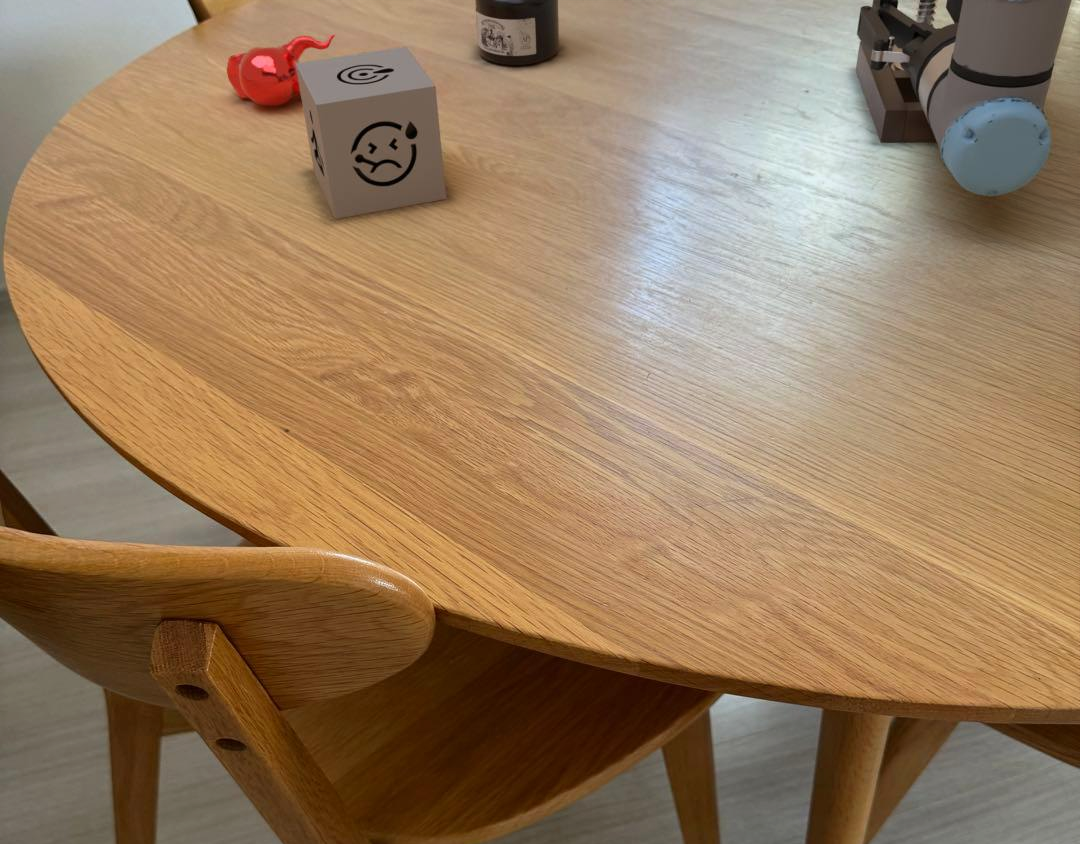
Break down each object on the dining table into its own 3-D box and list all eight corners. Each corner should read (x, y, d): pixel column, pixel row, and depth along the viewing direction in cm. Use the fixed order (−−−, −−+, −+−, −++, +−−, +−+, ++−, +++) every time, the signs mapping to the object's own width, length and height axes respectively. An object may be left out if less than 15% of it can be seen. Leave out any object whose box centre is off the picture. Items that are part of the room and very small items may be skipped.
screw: (945, 86, 117) (921, 101, 115) (902, 75, 120) (878, 90, 117) (973, -52, 109) (948, -40, 106) (926, -61, 111) (900, -49, 109)
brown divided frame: (952, 69, 121) (959, 40, 119) (990, 142, 107) (997, 110, 105) (855, 70, 121) (859, 41, 119) (880, 142, 108) (885, 110, 106)
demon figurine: (218, 41, 119) (332, 18, 120) (235, 100, 123) (346, 79, 124) (216, 64, 113) (336, 41, 114) (235, 126, 117) (351, 103, 118)
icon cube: (418, 154, 110) (406, 46, 103) (446, 198, 103) (435, 85, 96) (314, 172, 108) (295, 63, 101) (335, 219, 100) (316, 105, 94)
